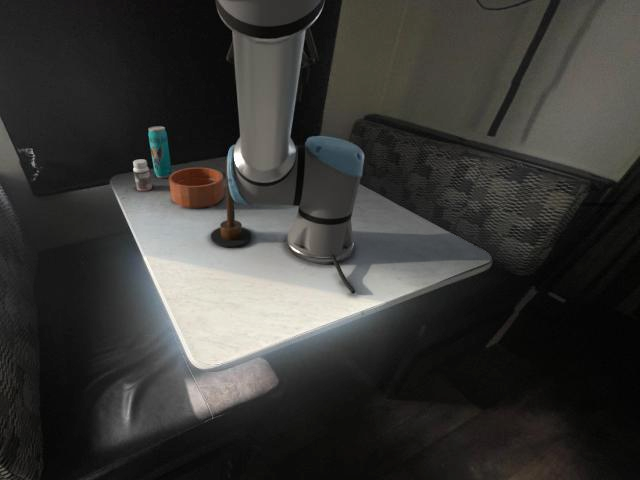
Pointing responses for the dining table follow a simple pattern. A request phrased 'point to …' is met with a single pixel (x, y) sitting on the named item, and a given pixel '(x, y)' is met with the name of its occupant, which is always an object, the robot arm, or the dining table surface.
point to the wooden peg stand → (230, 218)
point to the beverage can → (160, 151)
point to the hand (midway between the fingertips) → (269, 100)
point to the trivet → (225, 243)
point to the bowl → (196, 187)
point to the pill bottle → (142, 175)
